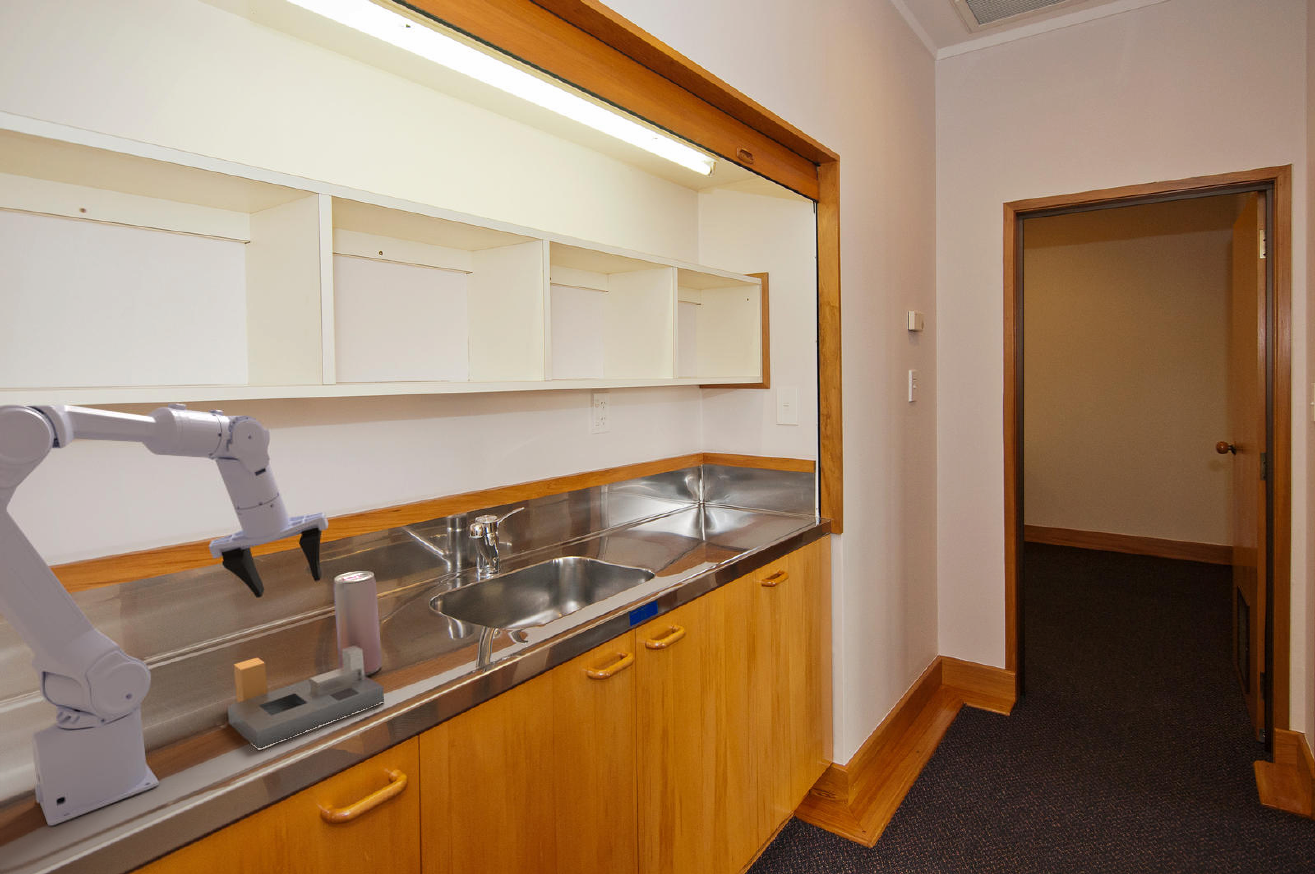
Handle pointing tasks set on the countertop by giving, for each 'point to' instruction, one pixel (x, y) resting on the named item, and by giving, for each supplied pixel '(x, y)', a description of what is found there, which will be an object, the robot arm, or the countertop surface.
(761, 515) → the countertop surface
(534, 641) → the countertop surface
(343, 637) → the beverage can
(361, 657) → the bracket
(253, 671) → the orange rectangular block
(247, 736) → the rosette plate
